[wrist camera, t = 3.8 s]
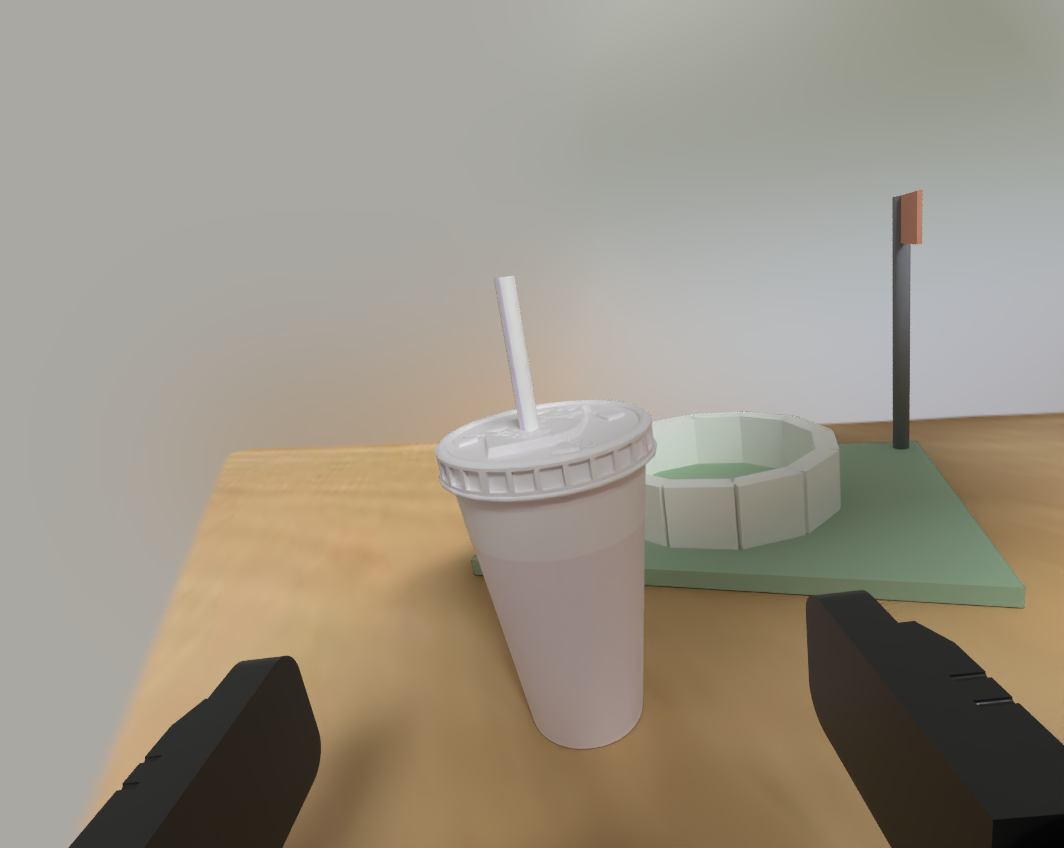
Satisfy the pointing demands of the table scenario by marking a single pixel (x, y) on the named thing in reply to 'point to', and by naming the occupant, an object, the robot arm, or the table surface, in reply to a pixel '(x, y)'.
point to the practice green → (817, 499)
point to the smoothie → (560, 544)
